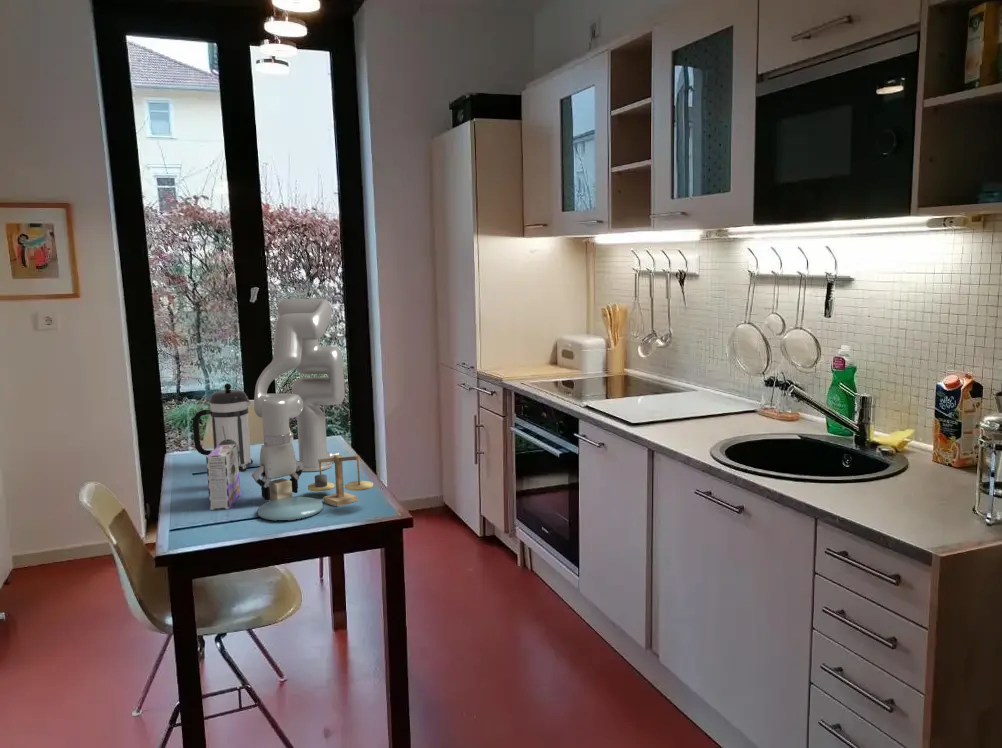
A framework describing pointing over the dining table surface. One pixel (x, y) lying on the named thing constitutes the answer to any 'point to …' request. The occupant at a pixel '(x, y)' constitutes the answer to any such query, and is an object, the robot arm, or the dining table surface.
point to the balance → (339, 482)
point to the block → (280, 489)
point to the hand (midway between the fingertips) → (280, 495)
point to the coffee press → (227, 422)
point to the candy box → (223, 477)
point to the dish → (290, 508)
